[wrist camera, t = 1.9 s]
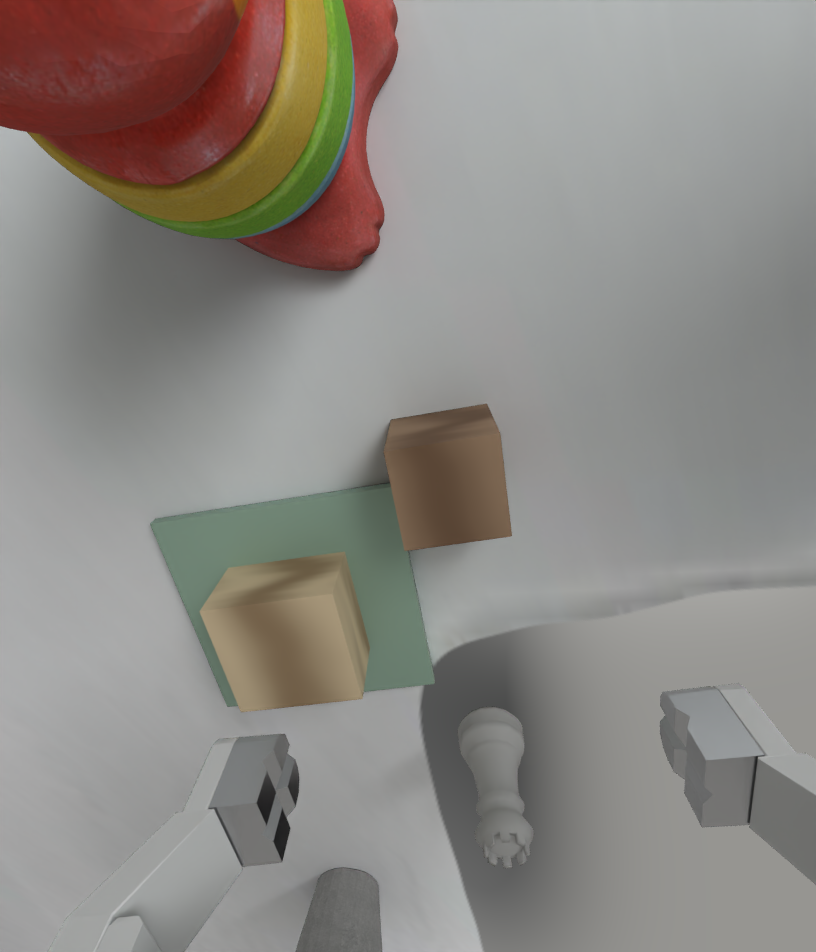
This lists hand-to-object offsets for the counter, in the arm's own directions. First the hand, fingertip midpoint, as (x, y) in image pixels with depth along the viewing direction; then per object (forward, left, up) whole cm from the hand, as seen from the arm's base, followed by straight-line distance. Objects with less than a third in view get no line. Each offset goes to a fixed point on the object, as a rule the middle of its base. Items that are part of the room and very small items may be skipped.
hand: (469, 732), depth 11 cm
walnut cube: (0, 0, -17) cm, 17 cm away
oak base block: (+10, +8, -17) cm, 21 cm away
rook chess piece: (0, +20, -17) cm, 27 cm away
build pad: (+10, +8, -17) cm, 21 cm away
